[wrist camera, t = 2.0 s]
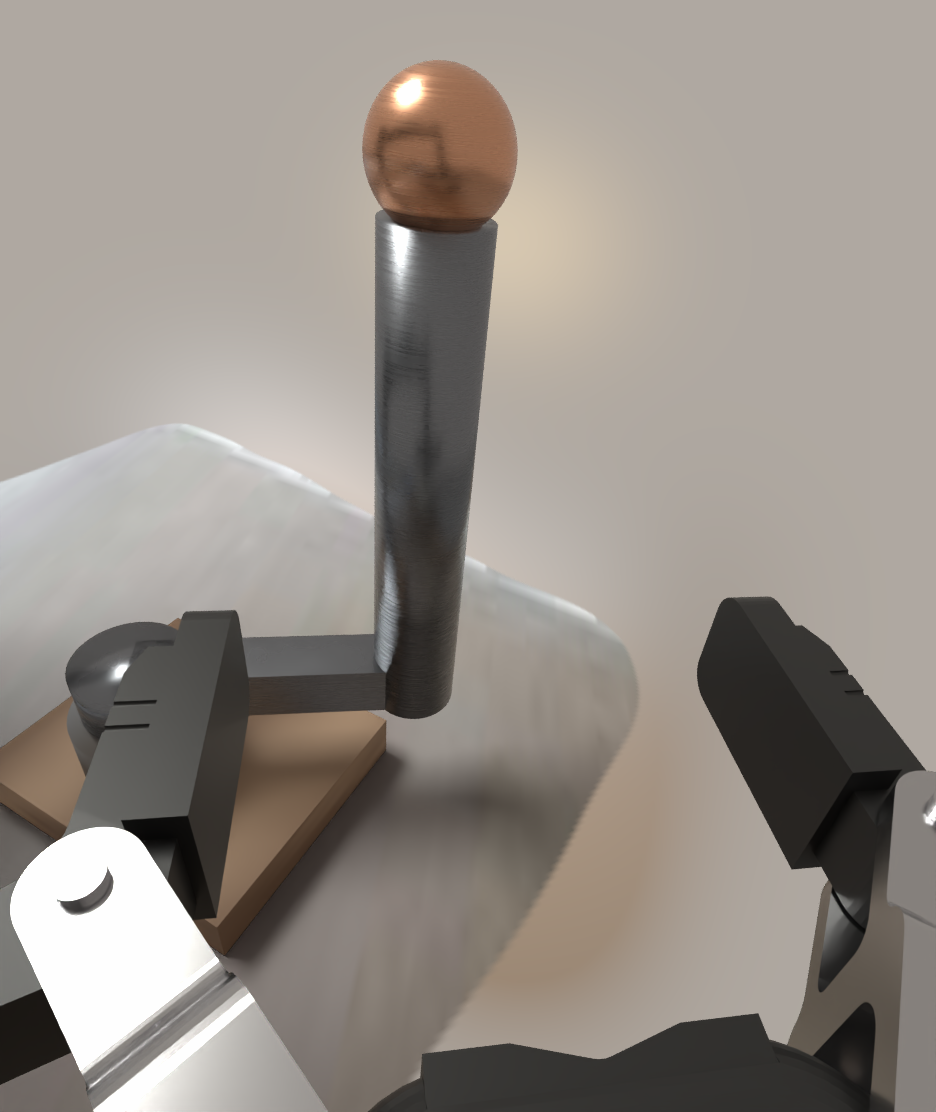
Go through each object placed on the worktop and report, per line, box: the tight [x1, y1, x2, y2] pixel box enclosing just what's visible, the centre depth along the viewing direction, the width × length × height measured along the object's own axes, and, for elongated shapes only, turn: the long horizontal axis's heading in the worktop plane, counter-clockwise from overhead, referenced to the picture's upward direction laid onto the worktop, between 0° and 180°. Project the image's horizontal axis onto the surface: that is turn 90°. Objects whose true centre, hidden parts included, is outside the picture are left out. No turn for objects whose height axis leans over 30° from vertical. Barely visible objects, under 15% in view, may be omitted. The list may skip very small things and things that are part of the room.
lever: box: [65, 60, 518, 739], centre depth 20 cm, size 14×4×20 cm, turn 97°
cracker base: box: [0, 618, 386, 956], centre depth 28 cm, size 12×10×5 cm
